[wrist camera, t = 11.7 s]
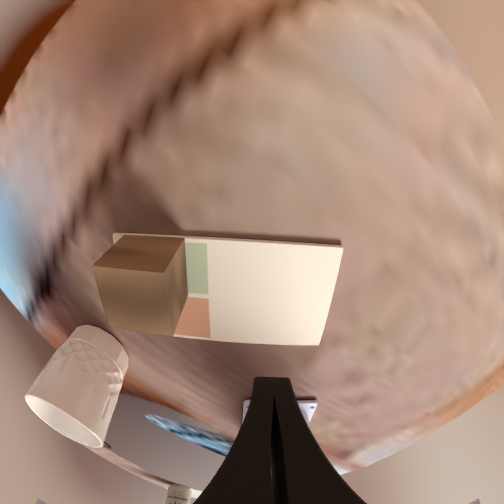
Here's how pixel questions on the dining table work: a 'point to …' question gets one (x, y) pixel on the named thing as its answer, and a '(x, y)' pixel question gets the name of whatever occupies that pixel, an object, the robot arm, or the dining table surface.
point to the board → (256, 289)
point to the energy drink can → (178, 494)
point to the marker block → (143, 283)
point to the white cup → (81, 385)
